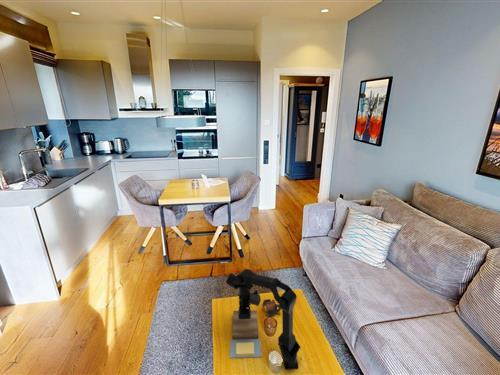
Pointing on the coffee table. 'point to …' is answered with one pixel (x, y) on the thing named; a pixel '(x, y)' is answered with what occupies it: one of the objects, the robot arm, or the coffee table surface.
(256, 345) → the mat
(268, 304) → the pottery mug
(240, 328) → the deck
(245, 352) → the bevelled yellow tile
